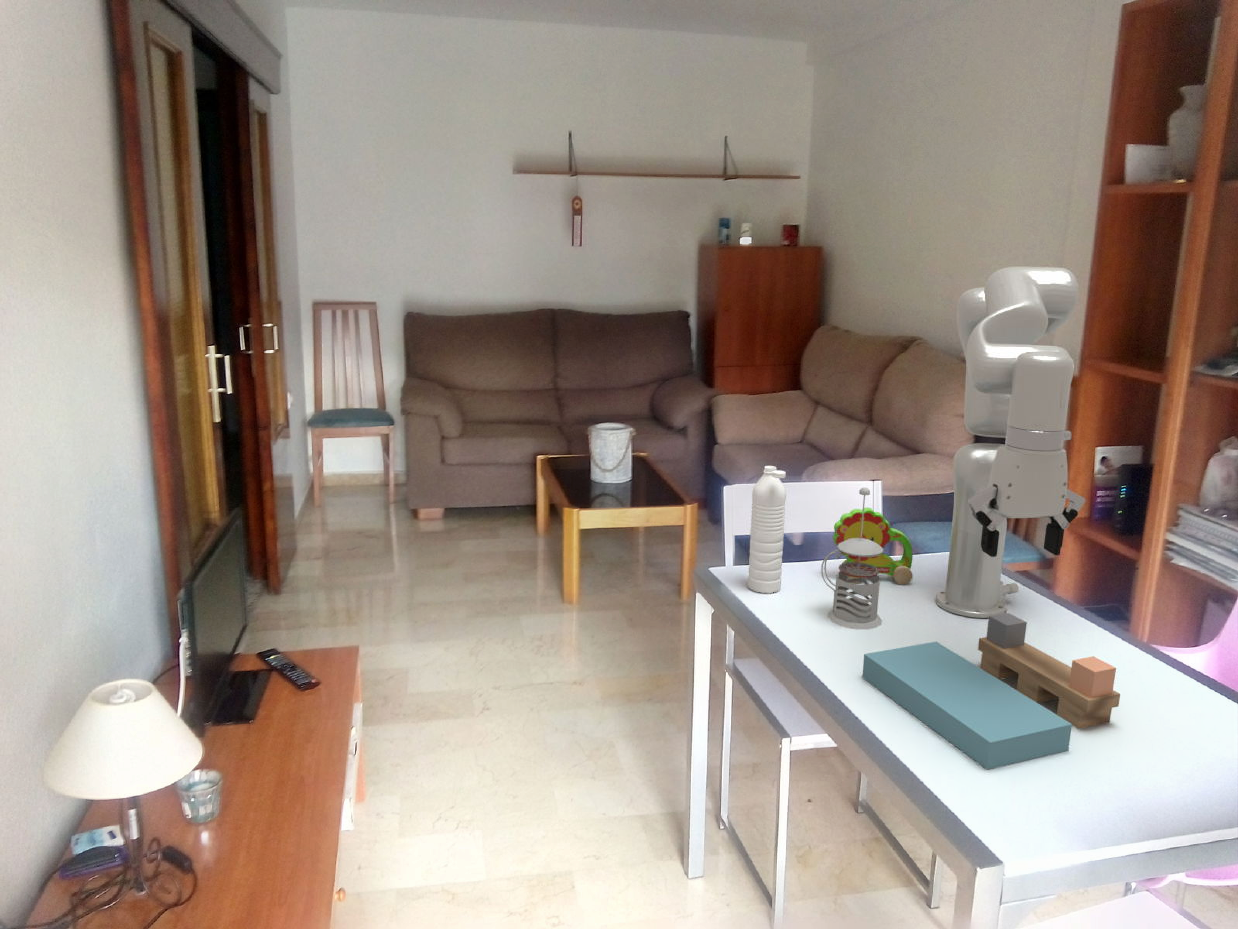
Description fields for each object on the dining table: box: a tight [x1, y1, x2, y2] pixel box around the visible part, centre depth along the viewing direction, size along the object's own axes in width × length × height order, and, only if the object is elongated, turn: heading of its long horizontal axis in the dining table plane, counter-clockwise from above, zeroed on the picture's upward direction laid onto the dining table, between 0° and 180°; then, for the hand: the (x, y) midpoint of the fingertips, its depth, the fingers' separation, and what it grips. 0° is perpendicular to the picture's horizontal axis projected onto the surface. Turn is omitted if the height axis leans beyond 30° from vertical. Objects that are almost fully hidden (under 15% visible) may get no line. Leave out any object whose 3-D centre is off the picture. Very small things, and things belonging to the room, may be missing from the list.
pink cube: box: [1069, 655, 1117, 698], centre depth 134 cm, size 4×4×4 cm
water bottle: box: [747, 465, 787, 594], centre depth 181 cm, size 9×6×25 cm
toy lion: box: [832, 507, 914, 586], centre depth 189 cm, size 16×5×15 cm, turn 86°
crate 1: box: [985, 612, 1028, 649], centre depth 150 cm, size 4×4×4 cm
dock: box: [861, 641, 1073, 770], centre depth 138 cm, size 14×28×4 cm, turn 21°
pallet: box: [977, 636, 1121, 730], centre depth 143 cm, size 6×22×5 cm, turn 21°
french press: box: [820, 487, 884, 630], centre depth 169 cm, size 10×12×25 cm
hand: (1020, 553), depth 136 cm, fingers open, 9 cm apart
